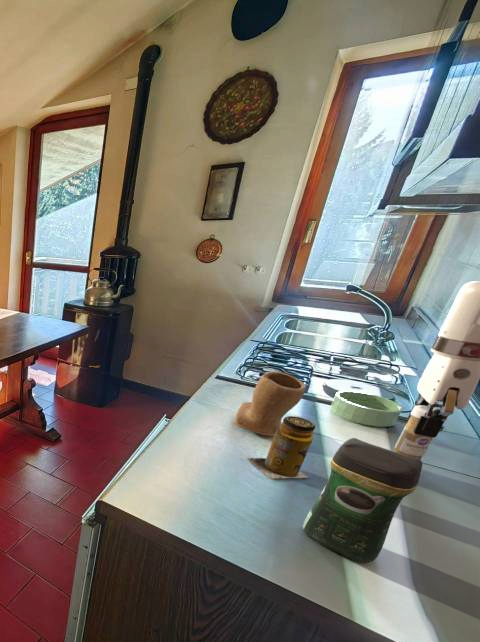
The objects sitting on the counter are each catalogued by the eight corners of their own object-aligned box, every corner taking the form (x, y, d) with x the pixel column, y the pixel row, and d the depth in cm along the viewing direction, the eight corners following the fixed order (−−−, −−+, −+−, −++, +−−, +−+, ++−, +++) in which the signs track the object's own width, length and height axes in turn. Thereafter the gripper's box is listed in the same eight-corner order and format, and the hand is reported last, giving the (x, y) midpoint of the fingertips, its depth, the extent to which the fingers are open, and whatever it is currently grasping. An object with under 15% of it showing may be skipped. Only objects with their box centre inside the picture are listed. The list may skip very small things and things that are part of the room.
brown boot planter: (284, 445, 94) (306, 389, 88) (228, 428, 102) (245, 375, 96) (291, 423, 105) (311, 371, 99) (239, 409, 112) (255, 360, 106)
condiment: (308, 478, 83) (330, 429, 78) (270, 479, 82) (289, 430, 77) (281, 458, 89) (300, 412, 84) (246, 459, 89) (262, 412, 84)
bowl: (387, 414, 110) (395, 398, 108) (399, 433, 100) (408, 416, 98) (326, 402, 117) (333, 386, 115) (332, 419, 107) (339, 403, 105)
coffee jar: (382, 550, 65) (436, 456, 57) (367, 572, 61) (423, 474, 53) (311, 515, 72) (351, 429, 65) (293, 533, 68) (334, 443, 61)
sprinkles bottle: (401, 469, 84) (430, 414, 78) (382, 457, 88) (408, 404, 83) (424, 469, 84) (454, 414, 78) (403, 457, 88) (430, 404, 82)
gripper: (513, 364, 67) (461, 453, 74) (474, 339, 79) (432, 418, 87) (449, 356, 71) (405, 442, 78) (421, 334, 83) (386, 409, 91)
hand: (420, 428), depth 82 cm, fingers closed on sprinkles bottle, 4 cm apart
